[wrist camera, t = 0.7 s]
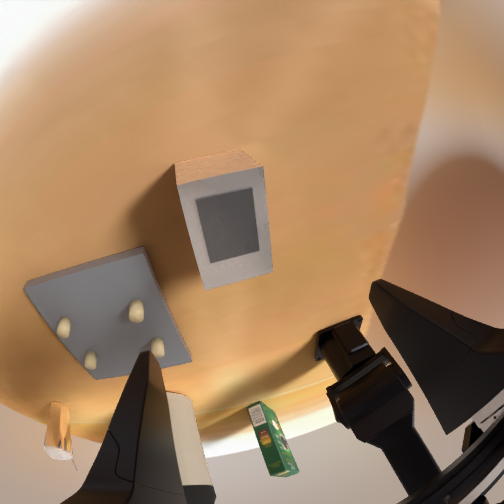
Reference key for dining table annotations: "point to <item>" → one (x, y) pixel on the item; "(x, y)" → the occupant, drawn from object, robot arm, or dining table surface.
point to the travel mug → (190, 451)
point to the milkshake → (59, 433)
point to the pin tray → (110, 313)
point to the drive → (226, 216)
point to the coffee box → (272, 441)
